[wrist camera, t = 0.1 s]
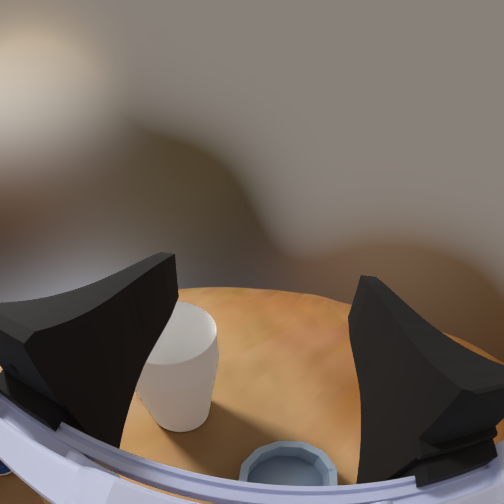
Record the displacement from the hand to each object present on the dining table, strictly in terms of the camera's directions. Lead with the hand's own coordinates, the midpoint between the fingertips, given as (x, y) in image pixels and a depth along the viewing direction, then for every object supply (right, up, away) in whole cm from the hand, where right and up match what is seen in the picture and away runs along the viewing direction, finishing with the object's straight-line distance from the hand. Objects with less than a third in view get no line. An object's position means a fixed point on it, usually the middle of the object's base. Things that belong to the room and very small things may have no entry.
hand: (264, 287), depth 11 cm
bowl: (+2, -20, +8) cm, 22 cm away
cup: (-9, -16, +16) cm, 25 cm away
